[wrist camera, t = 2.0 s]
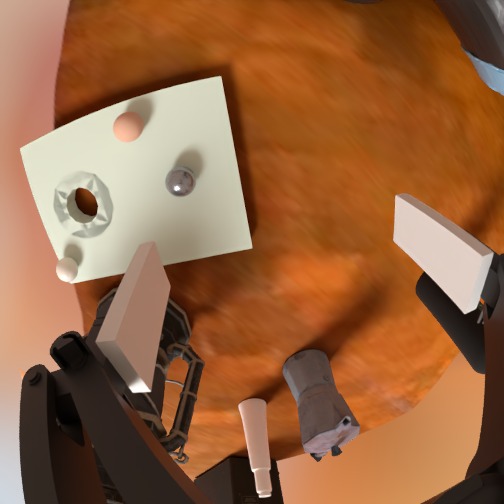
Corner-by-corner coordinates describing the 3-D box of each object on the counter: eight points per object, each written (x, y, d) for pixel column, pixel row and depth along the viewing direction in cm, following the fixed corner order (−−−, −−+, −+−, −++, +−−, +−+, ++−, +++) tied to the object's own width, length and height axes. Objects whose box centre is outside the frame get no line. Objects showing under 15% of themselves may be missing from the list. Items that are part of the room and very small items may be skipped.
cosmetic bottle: (245, 413, 57) (256, 500, 38) (233, 402, 54) (242, 497, 35) (270, 406, 56) (286, 494, 37) (259, 395, 53) (274, 491, 34)
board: (30, 145, 26) (19, 148, 24) (221, 78, 27) (221, 75, 24) (76, 274, 36) (70, 283, 34) (250, 239, 36) (252, 248, 34)
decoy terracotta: (116, 116, 25) (105, 118, 22) (143, 107, 25) (135, 107, 22) (122, 144, 27) (112, 148, 24) (149, 135, 27) (141, 138, 24)
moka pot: (340, 335, 47) (382, 430, 30) (319, 385, 54) (345, 467, 37) (288, 338, 46) (317, 445, 28) (275, 389, 53) (293, 477, 36)
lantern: (209, 290, 40) (212, 519, 13) (203, 362, 47) (207, 530, 21) (77, 276, 36) (-11, 458, 10) (95, 348, 43) (54, 500, 17)
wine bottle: (418, 269, 42) (525, 403, 16) (449, 259, 42) (554, 374, 16) (412, 303, 46) (498, 430, 20) (442, 292, 46) (529, 404, 20)
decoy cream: (58, 255, 32) (48, 267, 29) (76, 250, 32) (66, 263, 29) (68, 275, 33) (59, 288, 30) (85, 271, 33) (76, 284, 30)
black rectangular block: (235, 483, 90) (240, 531, 68) (191, 479, 84) (193, 530, 62) (283, 457, 76) (295, 520, 54) (230, 453, 70) (236, 524, 48)
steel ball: (164, 167, 28) (158, 174, 26) (193, 160, 28) (190, 166, 26) (172, 194, 30) (167, 204, 27) (200, 188, 30) (198, 197, 27)
